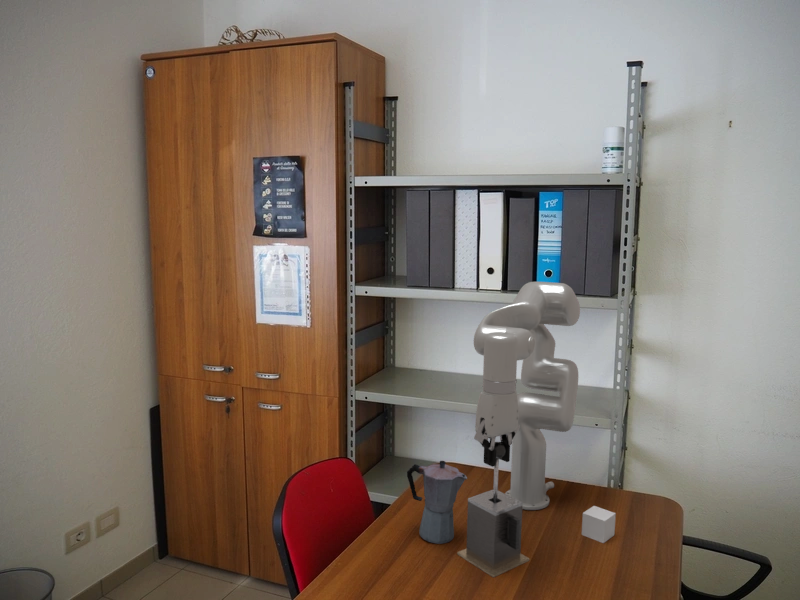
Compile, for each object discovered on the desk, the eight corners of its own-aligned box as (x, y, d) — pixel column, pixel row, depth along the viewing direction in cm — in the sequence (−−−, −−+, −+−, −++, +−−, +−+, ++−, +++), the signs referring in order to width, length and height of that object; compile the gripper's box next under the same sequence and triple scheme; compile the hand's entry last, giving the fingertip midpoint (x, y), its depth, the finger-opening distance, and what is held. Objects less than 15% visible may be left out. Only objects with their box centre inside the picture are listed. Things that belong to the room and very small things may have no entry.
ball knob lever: (494, 501, 152) (496, 435, 150) (514, 511, 147) (516, 443, 145) (475, 508, 148) (477, 440, 146) (495, 519, 143) (497, 449, 141)
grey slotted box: (492, 539, 157) (494, 485, 156) (533, 563, 147) (536, 505, 145) (457, 554, 150) (459, 497, 148) (497, 580, 140) (500, 519, 138)
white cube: (614, 535, 161) (615, 513, 160) (603, 543, 157) (604, 521, 156) (592, 527, 165) (594, 505, 164) (581, 535, 161) (582, 512, 160)
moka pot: (463, 548, 153) (465, 470, 150) (401, 541, 156) (402, 464, 153) (467, 530, 162) (469, 456, 160) (408, 523, 165) (410, 450, 163)
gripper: (512, 377, 152) (509, 450, 154) (461, 387, 142) (459, 465, 144) (536, 384, 146) (532, 459, 148) (484, 395, 136) (482, 476, 138)
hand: (496, 461), depth 146 cm, fingers closed on ball knob lever, 4 cm apart
